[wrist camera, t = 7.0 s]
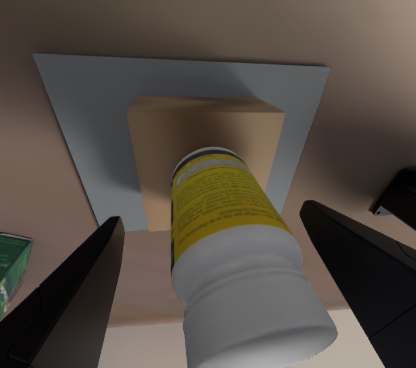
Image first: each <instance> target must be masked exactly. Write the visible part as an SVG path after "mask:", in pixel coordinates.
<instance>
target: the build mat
mask: <svg viewBox="0 0 416 368" xmlns="http://www.w3.org/2000/svg"><path fill="white" fill-rule="evenodd" d="M32 55H33V58H34V60H35V63H36V65H37V68H38V70H39V73H40V76H41V78H42V81H43V83H44V86H45V88H46V91H47V93H48V96H49V98H50V101H51V104H52V106H53V109H54V111H55V114H56V116H57V119H58V121H59V124H60V127H61V129H62V132H63V134H64V137H65V139H66V142H67V144H68V147H69V150H70V152H71V155H72V157H73V160H74V162H75V165H76V167H77V170H78V173H79V175H80V178H81V180H82V183H83V185H84V188H85V190H86V193H87V196H88V198H89V201H90V203H91V206H92V208H93V211H94V213H95V216H96V219H97V221H98V224H99V226H101V225H102V224H103V223H104V222H105V221H106V220H107V219H108V218H109V217H111V216H120V217H121V219H122V222H123V225H124V229H125V232H128V231H138V230H148V225H147V220H146V214H145V209H144V204H143V199H142V193H141V188H140V183H139V177H138V172H137V167H136V162H135V156H134V151H133V146H132V140H131V135H130V130H129V125H128V119H127V114H126V112H127V110H128V109H129V108H130V106H131V105H132V103H133V102H134V100H135V99H136V97H137V96H168V97H235V98H258V99H260V100H262V101H264V102H266V103H268V104H270V105H272V106H274V107H276V108H278V109H280V110H282V111H284V112H286V114H285V118H284V122H283V126H282V129H281V133H280V137H279V141H278V145H277V148H276V152H275V156H274V160H273V163H272V167H271V171H270V175H269V179H268V182H267V186H266V190H265V194H266V196H267V197H268V199H269V200H270V202H271V203H272V205H273V206H274V208H275V209H276V210H277V212H278V213H279V215H280V214H281V211H282V208H283V206H284V203H285V200H286V197H287V194H288V191H289V188H290V185H291V183H292V180H293V177H294V174H295V171H296V168H297V165H298V163H299V160H300V157H301V154H302V151H303V148H304V145H305V142H306V140H307V137H308V134H309V131H310V128H311V125H312V122H313V119H314V117H315V114H316V111H317V108H318V105H319V102H320V99H321V96H322V94H323V91H324V88H325V85H326V82H327V79H328V76H329V74H330V71H331V68H332V67H320V66H298V65H277V64H255V63H234V62H212V61H191V60H169V59H148V58H126V57H105V56H83V55H62V54H40V53H32Z"/></svg>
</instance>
